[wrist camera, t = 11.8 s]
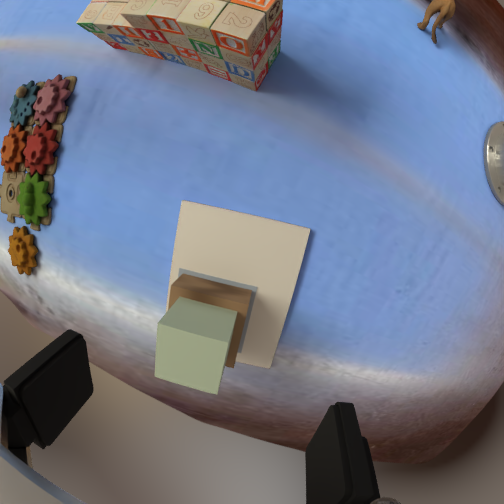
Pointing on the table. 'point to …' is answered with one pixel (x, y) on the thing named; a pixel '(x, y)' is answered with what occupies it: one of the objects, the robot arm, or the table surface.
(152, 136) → the table surface
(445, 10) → the lion figurine
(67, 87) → the gear puzzle
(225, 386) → the table surface
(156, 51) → the stack of blocks
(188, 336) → the sage block
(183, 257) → the cream flat board
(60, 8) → the table surface
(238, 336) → the walnut base block
